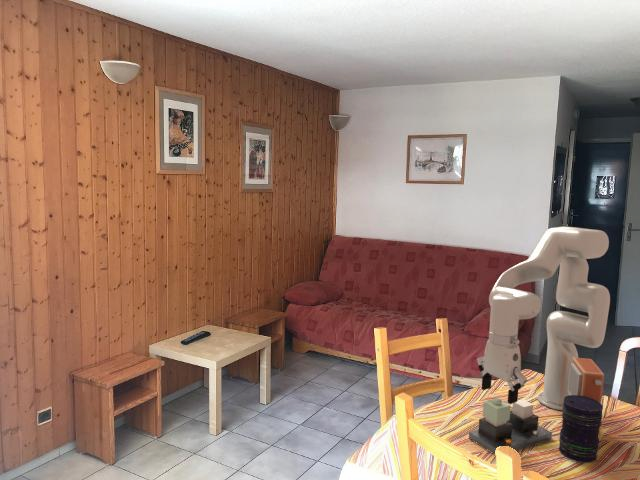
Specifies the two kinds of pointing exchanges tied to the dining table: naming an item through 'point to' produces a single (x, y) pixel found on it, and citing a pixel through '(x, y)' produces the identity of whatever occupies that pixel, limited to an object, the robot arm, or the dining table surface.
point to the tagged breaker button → (495, 423)
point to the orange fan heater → (585, 379)
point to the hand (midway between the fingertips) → (498, 395)
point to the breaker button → (522, 409)
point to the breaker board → (510, 433)
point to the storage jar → (580, 428)
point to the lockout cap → (496, 410)
